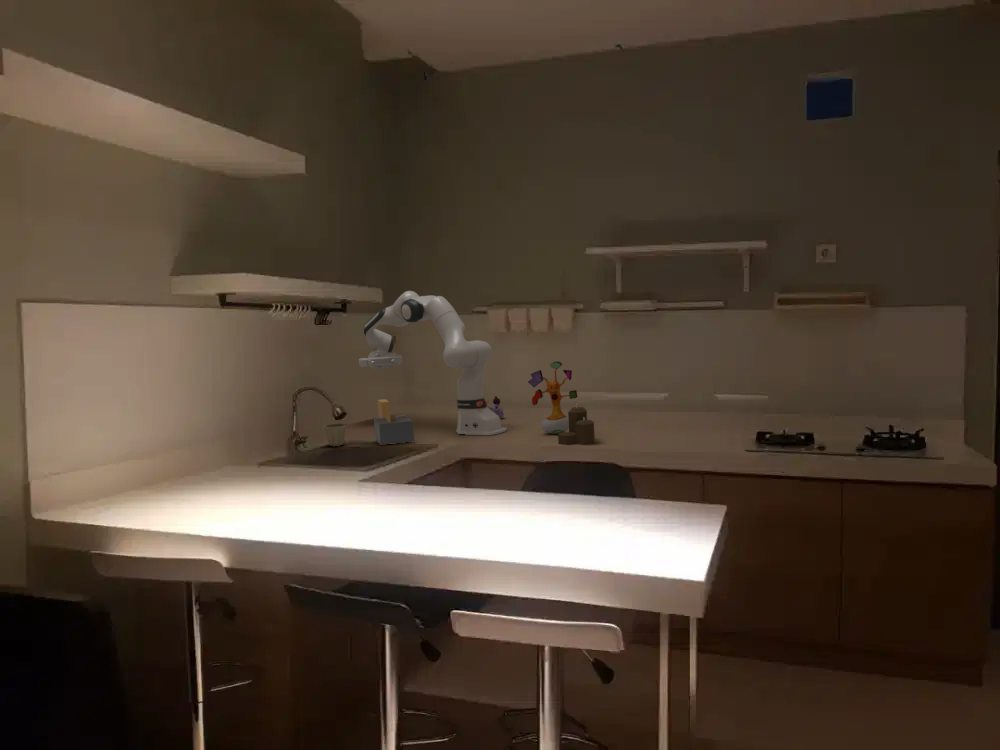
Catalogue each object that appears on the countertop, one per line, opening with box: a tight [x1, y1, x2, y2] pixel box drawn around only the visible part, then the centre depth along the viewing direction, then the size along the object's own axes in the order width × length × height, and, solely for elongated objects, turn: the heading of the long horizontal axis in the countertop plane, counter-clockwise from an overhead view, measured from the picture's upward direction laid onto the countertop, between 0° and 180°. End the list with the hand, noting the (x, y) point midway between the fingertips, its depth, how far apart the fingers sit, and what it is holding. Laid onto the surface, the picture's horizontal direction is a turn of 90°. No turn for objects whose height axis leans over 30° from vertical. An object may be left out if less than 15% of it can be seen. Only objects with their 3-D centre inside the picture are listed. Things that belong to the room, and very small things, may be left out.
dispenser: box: [373, 414, 415, 444], centre depth 349 cm, size 12×14×10 cm
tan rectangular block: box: [377, 398, 392, 422], centre depth 375 cm, size 10×4×14 cm, turn 18°
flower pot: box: [323, 422, 347, 445], centre depth 348 cm, size 9×9×9 cm
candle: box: [557, 402, 595, 446], centre depth 329 cm, size 14×14×15 cm
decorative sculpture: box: [527, 360, 578, 435], centre depth 347 cm, size 20×8×30 cm, turn 76°
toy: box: [487, 395, 505, 420], centre depth 394 cm, size 10×15×15 cm
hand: (383, 362), depth 384 cm, fingers open, 8 cm apart
